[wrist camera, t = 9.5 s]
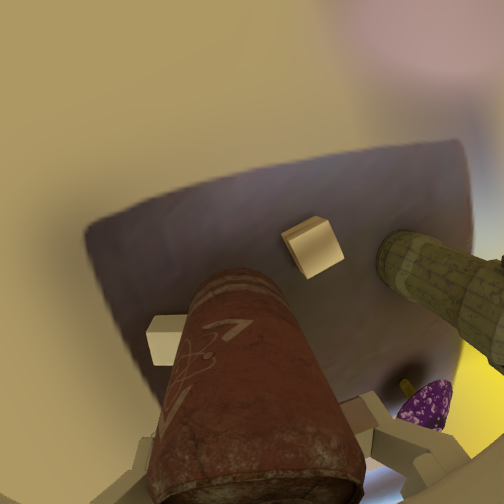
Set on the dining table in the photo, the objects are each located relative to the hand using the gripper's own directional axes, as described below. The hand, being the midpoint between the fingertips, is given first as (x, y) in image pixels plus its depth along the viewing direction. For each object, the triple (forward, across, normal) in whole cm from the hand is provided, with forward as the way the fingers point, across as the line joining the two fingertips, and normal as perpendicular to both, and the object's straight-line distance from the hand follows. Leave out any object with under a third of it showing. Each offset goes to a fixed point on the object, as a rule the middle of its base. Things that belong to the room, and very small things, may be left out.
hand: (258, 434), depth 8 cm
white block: (+28, -11, -9) cm, 32 cm away
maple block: (+28, +9, -1) cm, 30 cm away
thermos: (+28, +23, -7) cm, 37 cm away
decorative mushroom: (+28, +24, -32) cm, 49 cm away
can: (+10, 0, 0) cm, 11 cm away
